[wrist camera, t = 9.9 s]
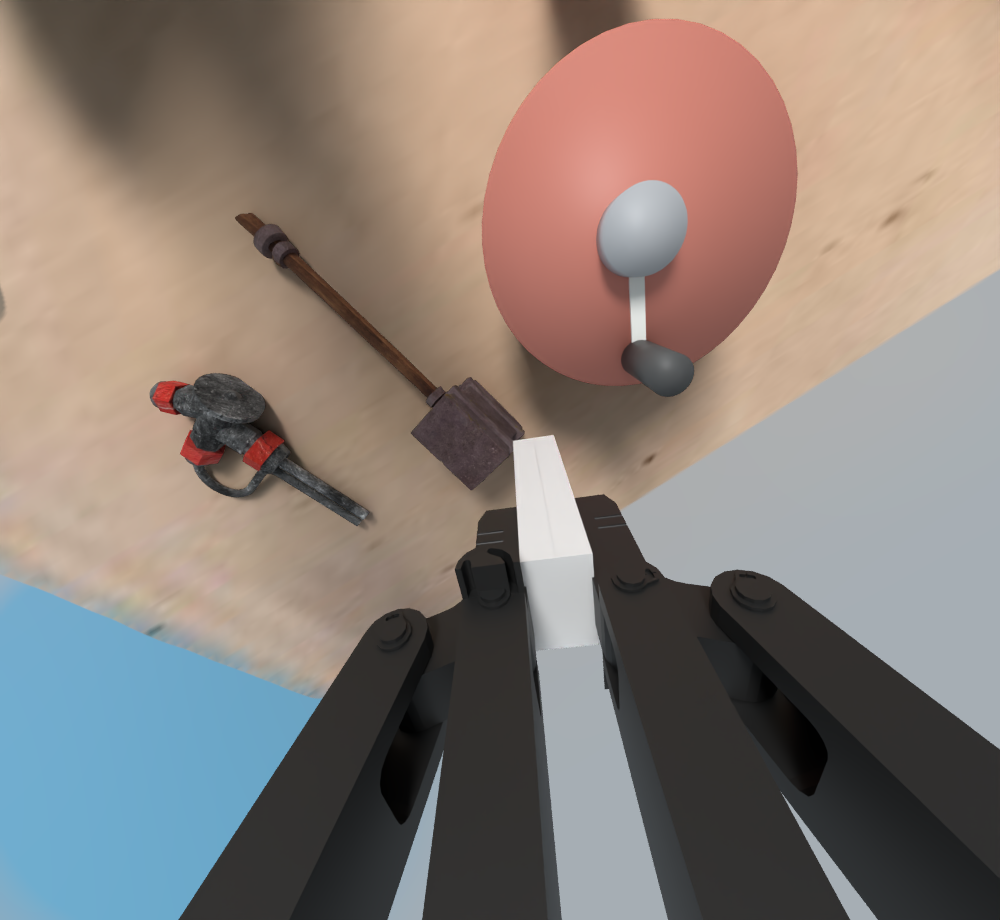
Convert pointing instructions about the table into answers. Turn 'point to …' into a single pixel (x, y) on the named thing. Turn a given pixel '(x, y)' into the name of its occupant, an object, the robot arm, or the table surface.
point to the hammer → (415, 380)
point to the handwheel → (639, 204)
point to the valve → (240, 438)
